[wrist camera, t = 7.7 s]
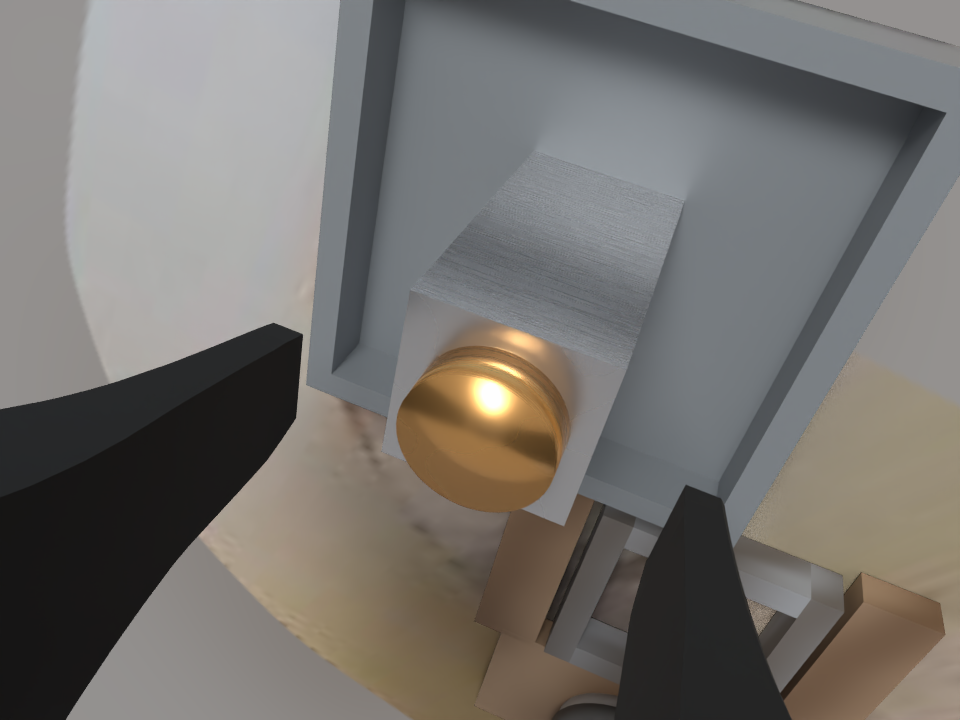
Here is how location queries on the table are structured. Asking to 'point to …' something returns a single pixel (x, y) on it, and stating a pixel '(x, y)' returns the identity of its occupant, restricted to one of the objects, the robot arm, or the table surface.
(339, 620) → the table surface
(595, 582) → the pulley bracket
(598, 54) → the tray
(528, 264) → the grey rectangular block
